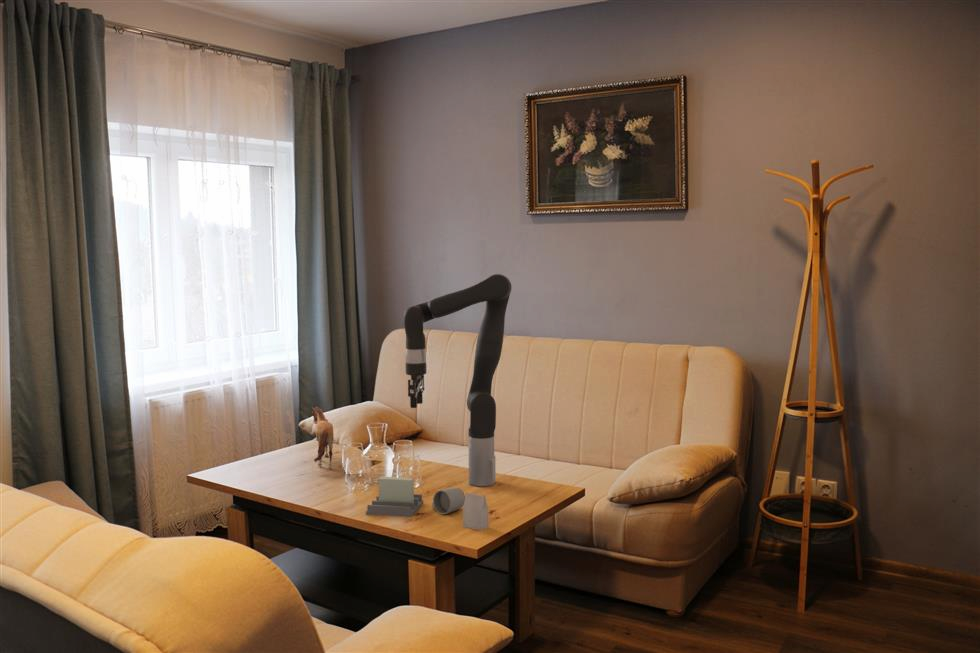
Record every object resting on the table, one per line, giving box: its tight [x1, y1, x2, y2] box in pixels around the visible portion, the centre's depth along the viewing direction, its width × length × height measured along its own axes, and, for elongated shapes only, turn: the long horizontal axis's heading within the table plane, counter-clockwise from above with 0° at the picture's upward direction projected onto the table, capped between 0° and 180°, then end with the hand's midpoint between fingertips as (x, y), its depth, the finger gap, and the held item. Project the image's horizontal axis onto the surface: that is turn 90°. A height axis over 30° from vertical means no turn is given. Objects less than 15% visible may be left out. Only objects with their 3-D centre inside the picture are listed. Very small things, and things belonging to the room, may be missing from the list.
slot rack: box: [365, 493, 424, 518], centre depth 267 cm, size 15×14×3 cm
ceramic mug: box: [431, 487, 466, 515], centre depth 266 cm, size 11×8×8 cm
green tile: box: [378, 476, 415, 503], centre depth 267 cm, size 11×2×9 cm, turn 80°
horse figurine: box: [311, 406, 335, 469], centre depth 325 cm, size 31×8×21 cm, turn 13°
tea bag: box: [462, 492, 489, 531], centre depth 249 cm, size 4×7×10 cm, turn 58°
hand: (416, 405), depth 299 cm, fingers open, 8 cm apart
